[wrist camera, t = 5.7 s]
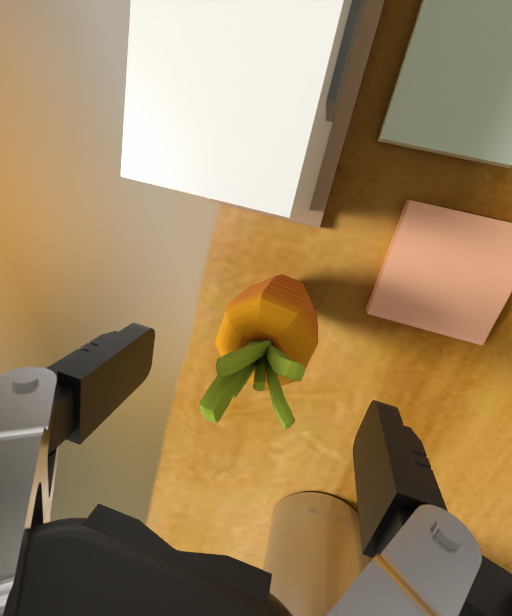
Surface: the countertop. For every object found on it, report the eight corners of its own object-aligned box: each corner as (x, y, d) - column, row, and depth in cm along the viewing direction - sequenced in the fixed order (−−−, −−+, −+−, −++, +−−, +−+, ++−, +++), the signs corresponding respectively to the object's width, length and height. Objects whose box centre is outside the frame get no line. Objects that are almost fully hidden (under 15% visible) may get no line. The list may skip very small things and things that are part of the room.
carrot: (321, 256, 23) (314, 335, 9) (320, 319, 25) (313, 470, 11) (256, 257, 24) (160, 330, 10) (259, 317, 26) (178, 452, 12)
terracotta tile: (476, 339, 23) (482, 345, 22) (365, 309, 24) (367, 313, 23) (534, 229, 20) (544, 230, 19) (406, 200, 21) (410, 199, 20)
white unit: (319, 227, 22) (311, 256, 10) (215, 201, 23) (93, 199, 11) (405, -72, 17) (614, -804, 5) (262, -89, 18) (121, -730, 6)
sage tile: (508, 168, 19) (517, 166, 18) (377, 141, 20) (379, 138, 19) (585, 3, 16) (600, -8, 15) (428, -19, 17) (433, -31, 16)
